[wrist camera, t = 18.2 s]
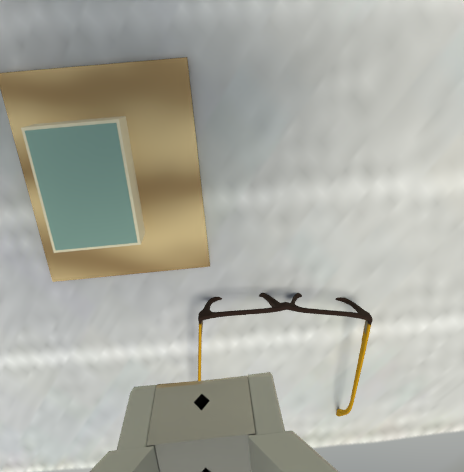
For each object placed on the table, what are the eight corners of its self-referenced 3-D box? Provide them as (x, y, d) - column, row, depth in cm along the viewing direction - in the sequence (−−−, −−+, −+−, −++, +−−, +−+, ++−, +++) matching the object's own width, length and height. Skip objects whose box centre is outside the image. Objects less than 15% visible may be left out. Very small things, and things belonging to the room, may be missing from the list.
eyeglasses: (359, 286, 36) (376, 310, 33) (337, 411, 42) (350, 444, 38) (199, 285, 36) (198, 309, 32) (197, 413, 41) (196, 447, 37)
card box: (125, 115, 29) (35, 123, 29) (118, 119, 27) (20, 127, 27) (145, 232, 32) (64, 240, 32) (140, 244, 30) (53, 253, 30)
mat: (-1, 73, 28) (-4, 73, 28) (187, 57, 28) (187, 57, 28) (54, 279, 34) (52, 281, 34) (209, 264, 34) (209, 266, 34)
